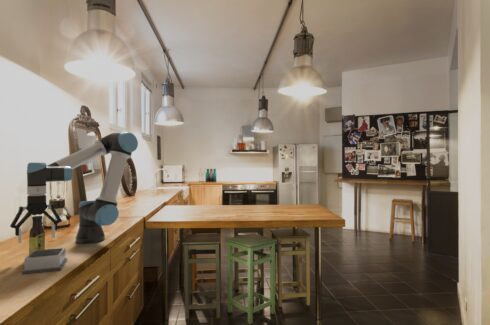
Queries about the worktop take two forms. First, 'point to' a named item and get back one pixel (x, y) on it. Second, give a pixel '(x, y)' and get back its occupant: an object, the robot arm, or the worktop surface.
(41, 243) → the sauce bottle
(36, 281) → the worktop surface
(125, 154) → the robot arm
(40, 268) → the open gray square box
